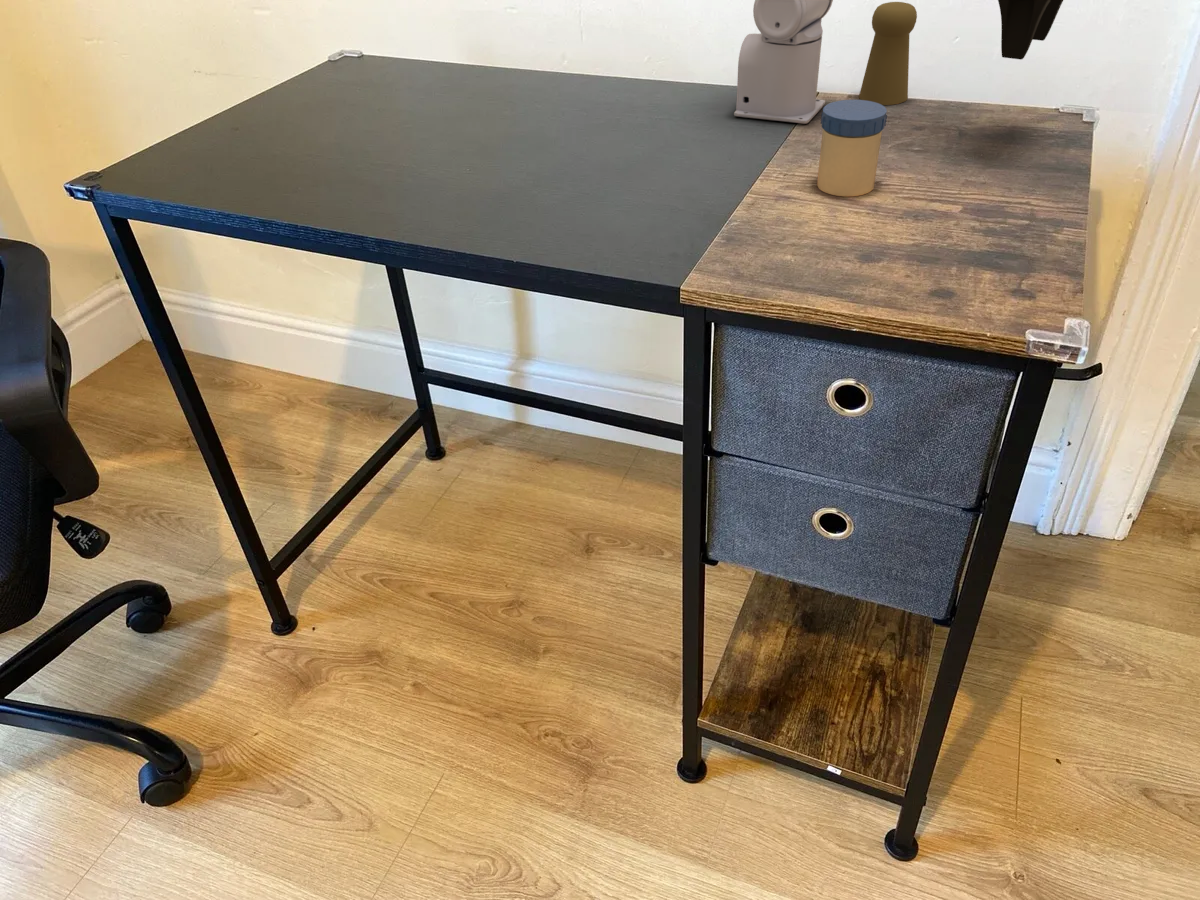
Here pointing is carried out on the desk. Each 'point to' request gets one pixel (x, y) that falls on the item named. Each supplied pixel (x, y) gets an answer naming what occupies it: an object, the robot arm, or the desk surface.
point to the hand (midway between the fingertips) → (1023, 48)
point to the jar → (848, 164)
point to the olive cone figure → (889, 54)
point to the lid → (854, 118)
